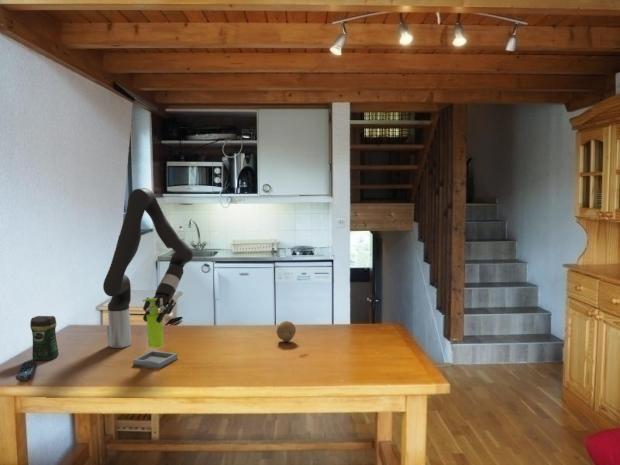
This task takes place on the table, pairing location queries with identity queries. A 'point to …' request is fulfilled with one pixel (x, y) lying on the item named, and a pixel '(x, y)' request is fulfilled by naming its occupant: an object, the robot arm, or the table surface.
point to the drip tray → (155, 359)
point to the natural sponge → (286, 331)
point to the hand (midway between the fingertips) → (151, 321)
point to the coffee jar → (44, 338)
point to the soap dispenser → (154, 325)
